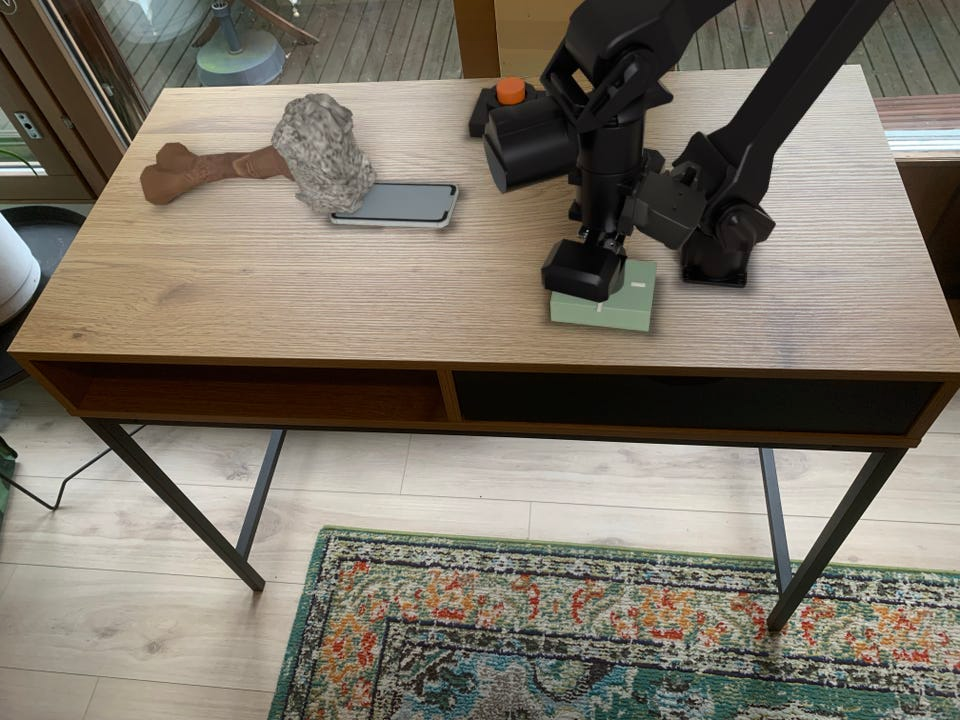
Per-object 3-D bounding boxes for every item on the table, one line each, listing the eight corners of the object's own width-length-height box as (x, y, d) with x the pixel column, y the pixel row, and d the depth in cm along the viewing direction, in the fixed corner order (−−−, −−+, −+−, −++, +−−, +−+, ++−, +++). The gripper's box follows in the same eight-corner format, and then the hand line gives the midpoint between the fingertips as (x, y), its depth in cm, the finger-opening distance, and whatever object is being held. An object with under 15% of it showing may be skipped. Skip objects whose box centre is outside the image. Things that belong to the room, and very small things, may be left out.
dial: (592, 263, 78) (592, 233, 74) (629, 272, 76) (631, 241, 73) (578, 290, 75) (578, 260, 72) (616, 299, 74) (618, 269, 71)
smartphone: (345, 180, 94) (459, 183, 91) (347, 186, 95) (460, 189, 91) (326, 219, 90) (446, 224, 86) (329, 225, 90) (447, 230, 87)
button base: (555, 105, 100) (554, 78, 97) (544, 141, 96) (543, 114, 93) (483, 102, 102) (480, 75, 99) (470, 137, 98) (466, 111, 95)
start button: (527, 89, 97) (526, 77, 95) (522, 106, 95) (521, 93, 93) (500, 88, 98) (499, 76, 96) (494, 104, 96) (493, 92, 94)
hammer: (202, 176, 104) (395, 161, 93) (178, 237, 100) (376, 228, 89) (127, 99, 91) (340, 71, 81) (96, 165, 87) (316, 144, 77)
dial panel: (655, 277, 79) (657, 256, 77) (647, 336, 75) (650, 315, 72) (562, 269, 82) (562, 248, 79) (549, 325, 77) (548, 305, 75)
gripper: (672, 247, 56) (655, 370, 68) (730, 106, 66) (705, 236, 78) (535, 217, 60) (542, 339, 72) (608, 87, 69) (603, 214, 82)
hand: (603, 280), depth 76 cm, fingers closed on dial, 4 cm apart
